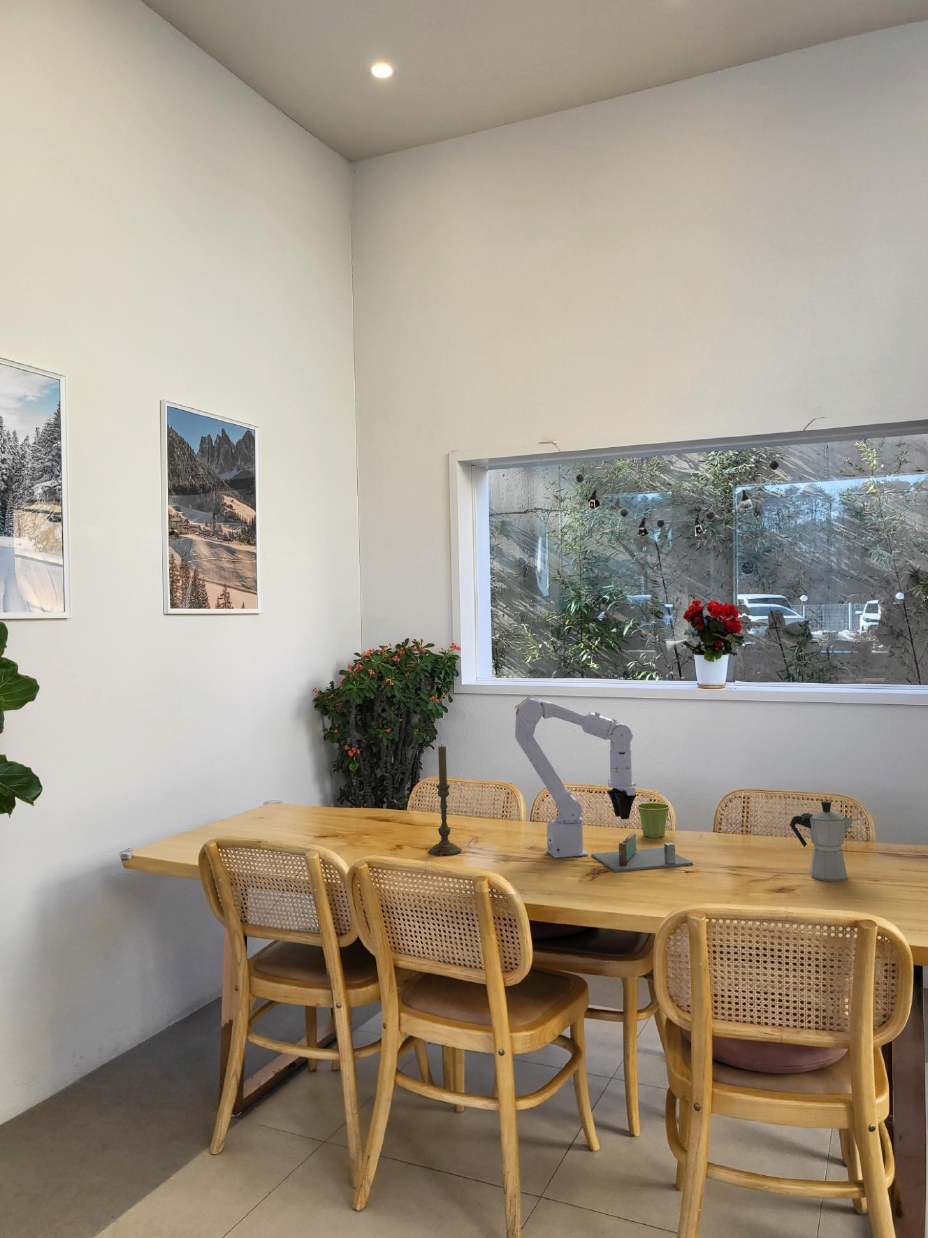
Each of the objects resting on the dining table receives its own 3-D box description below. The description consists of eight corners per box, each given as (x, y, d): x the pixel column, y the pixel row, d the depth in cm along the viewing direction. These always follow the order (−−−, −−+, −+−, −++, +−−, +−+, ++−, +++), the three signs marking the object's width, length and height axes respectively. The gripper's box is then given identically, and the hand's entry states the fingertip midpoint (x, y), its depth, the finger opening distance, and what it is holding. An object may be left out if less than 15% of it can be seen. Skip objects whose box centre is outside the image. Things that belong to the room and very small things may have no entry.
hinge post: (621, 868, 237) (620, 845, 237) (618, 866, 239) (617, 843, 239) (628, 868, 237) (627, 844, 237) (625, 866, 239) (624, 842, 239)
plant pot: (670, 839, 267) (669, 809, 267) (637, 839, 269) (636, 808, 269) (670, 832, 276) (669, 802, 276) (637, 831, 278) (637, 802, 278)
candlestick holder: (423, 855, 257) (420, 745, 257) (435, 847, 265) (432, 741, 265) (454, 857, 254) (451, 746, 254) (466, 849, 262) (463, 742, 262)
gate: (626, 862, 239) (626, 842, 239) (622, 862, 240) (621, 842, 240) (636, 851, 250) (635, 832, 250) (631, 850, 251) (631, 831, 251)
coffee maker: (853, 872, 228) (851, 798, 228) (860, 882, 219) (857, 805, 219) (788, 870, 231) (786, 797, 231) (793, 880, 222) (791, 804, 222)
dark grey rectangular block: (668, 866, 238) (667, 845, 238) (664, 864, 240) (664, 843, 240) (675, 865, 238) (674, 844, 238) (671, 864, 240) (671, 842, 240)
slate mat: (615, 872, 234) (615, 869, 234) (591, 856, 250) (591, 853, 250) (692, 865, 239) (692, 862, 239) (664, 849, 255) (664, 847, 255)
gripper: (645, 770, 247) (646, 821, 247) (624, 762, 262) (625, 811, 262) (620, 772, 246) (622, 823, 246) (600, 764, 260) (601, 813, 260)
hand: (622, 817), depth 254 cm, fingers open, 3 cm apart
